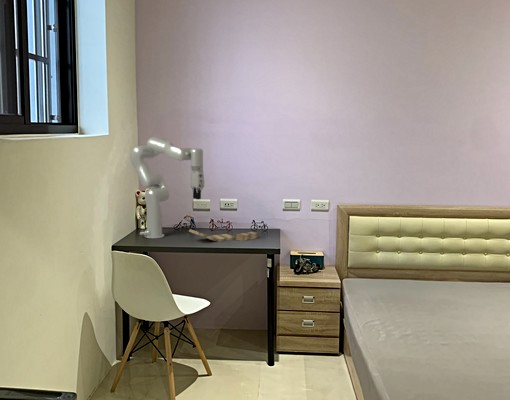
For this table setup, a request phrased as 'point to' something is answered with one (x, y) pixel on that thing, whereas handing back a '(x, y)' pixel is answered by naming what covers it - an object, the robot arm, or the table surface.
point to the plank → (202, 235)
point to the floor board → (223, 237)
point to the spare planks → (247, 236)
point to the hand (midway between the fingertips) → (196, 198)
